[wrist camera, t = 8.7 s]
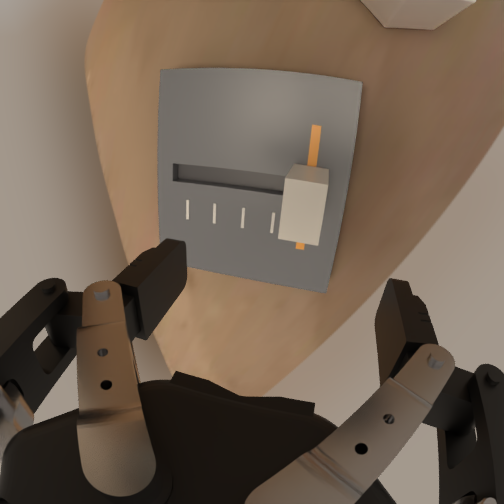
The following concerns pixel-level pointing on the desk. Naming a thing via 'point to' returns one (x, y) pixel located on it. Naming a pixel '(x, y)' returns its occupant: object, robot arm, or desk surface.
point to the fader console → (252, 167)
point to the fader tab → (303, 204)
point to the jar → (415, 12)
